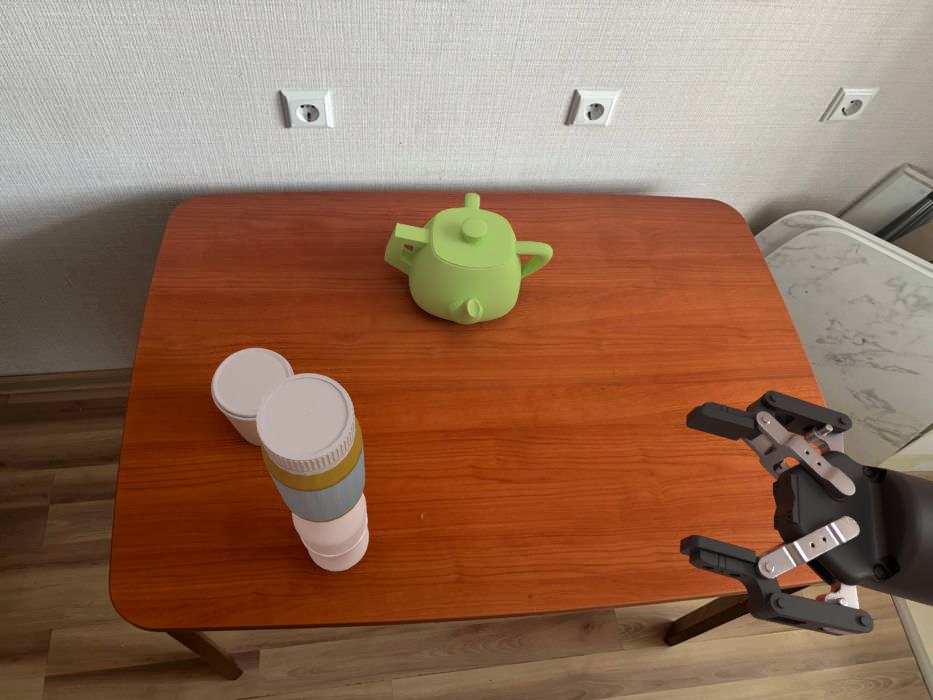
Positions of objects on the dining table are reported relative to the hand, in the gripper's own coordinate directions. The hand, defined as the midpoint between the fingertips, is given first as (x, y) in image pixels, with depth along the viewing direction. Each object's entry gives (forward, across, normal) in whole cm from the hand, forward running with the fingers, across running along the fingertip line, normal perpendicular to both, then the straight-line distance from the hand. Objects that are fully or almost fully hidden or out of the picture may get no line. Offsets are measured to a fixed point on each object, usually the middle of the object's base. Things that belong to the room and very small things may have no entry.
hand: (688, 475), depth 37 cm
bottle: (+24, -2, -17) cm, 30 cm away
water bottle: (+25, -2, -42) cm, 49 cm away
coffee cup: (+39, +10, -42) cm, 58 cm away
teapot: (+19, +38, -42) cm, 60 cm away
